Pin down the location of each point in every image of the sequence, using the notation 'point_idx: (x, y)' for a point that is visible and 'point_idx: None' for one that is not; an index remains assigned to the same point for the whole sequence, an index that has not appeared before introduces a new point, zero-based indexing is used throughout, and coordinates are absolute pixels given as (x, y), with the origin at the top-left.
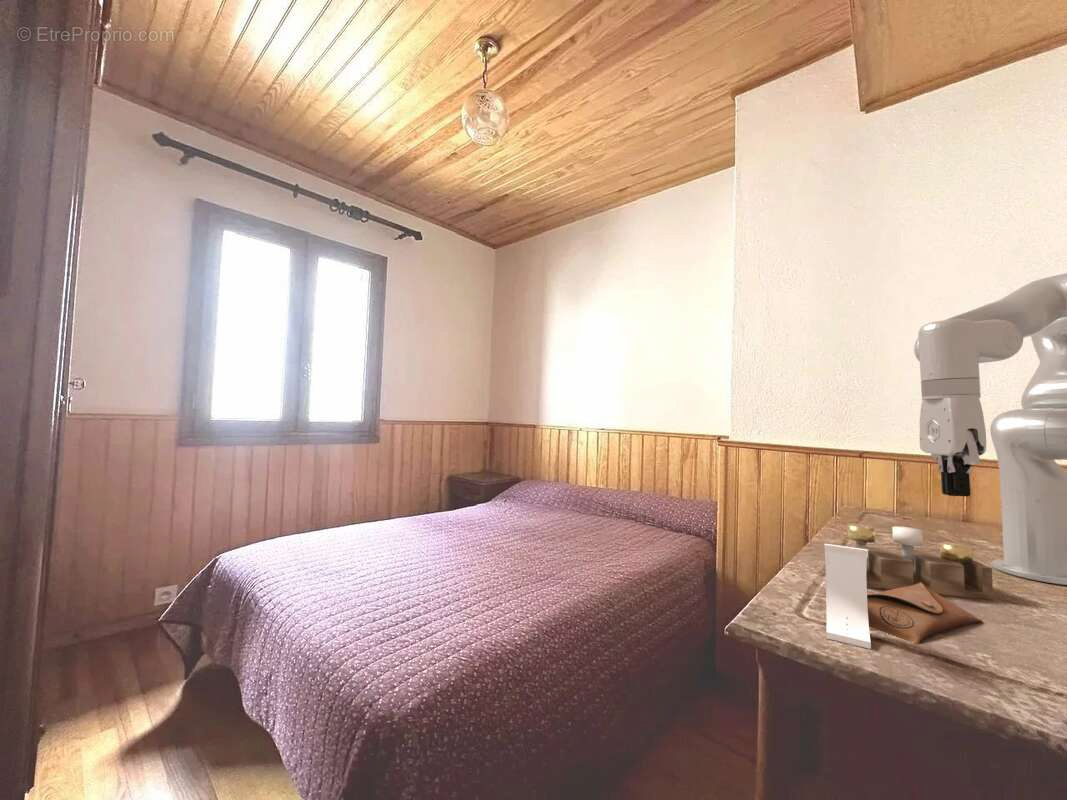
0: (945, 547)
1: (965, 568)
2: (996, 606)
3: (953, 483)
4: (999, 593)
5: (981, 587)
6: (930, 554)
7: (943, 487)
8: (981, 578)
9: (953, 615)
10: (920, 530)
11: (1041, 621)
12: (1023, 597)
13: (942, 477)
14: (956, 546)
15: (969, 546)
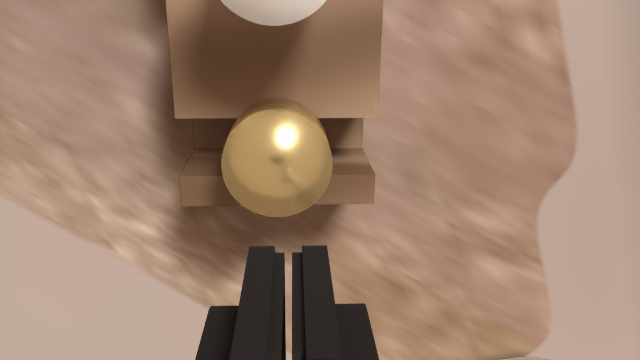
0: (255, 112)
1: None
2: (134, 140)
3: (233, 335)
4: (278, 224)
5: (199, 153)
6: (330, 81)
7: (305, 269)
8: (192, 162)
9: None
10: (260, 18)
11: (43, 187)
12: None
13: (315, 320)
14: (238, 149)
15: (264, 208)
